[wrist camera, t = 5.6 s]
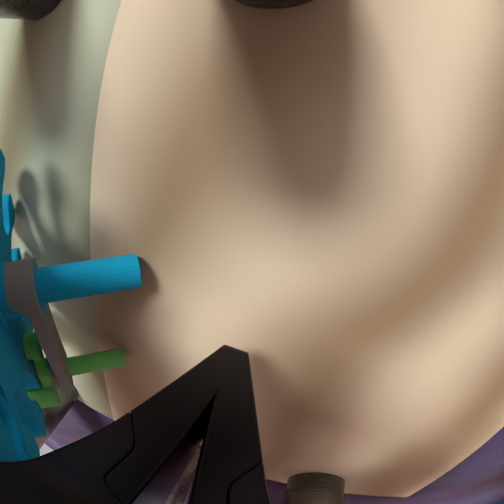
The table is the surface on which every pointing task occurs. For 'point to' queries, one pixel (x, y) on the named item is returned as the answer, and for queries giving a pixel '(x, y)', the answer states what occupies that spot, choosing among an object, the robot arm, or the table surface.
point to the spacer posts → (298, 486)
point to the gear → (43, 332)
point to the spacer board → (278, 213)
